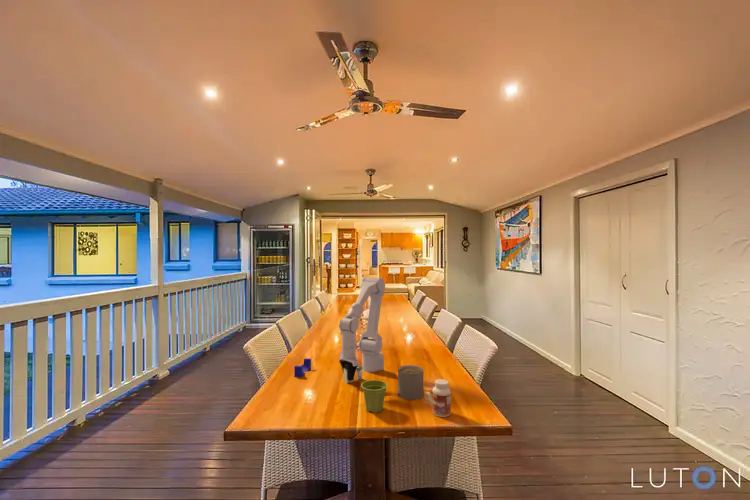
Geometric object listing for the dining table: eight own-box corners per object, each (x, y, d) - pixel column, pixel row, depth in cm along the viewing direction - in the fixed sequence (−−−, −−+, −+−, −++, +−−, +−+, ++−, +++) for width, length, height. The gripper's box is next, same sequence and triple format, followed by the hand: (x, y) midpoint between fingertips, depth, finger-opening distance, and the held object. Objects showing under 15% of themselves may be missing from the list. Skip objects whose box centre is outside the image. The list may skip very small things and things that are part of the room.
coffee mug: (415, 402, 128) (415, 375, 128) (393, 395, 134) (393, 370, 134) (431, 390, 139) (431, 365, 139) (410, 385, 145) (410, 361, 145)
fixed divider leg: (360, 378, 150) (360, 365, 150) (363, 380, 147) (363, 367, 147) (355, 379, 148) (355, 366, 148) (357, 381, 146) (357, 368, 146)
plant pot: (367, 417, 117) (367, 391, 117) (357, 405, 125) (357, 382, 125) (391, 412, 120) (391, 387, 120) (380, 401, 129) (380, 378, 129)
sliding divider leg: (350, 379, 148) (350, 366, 148) (353, 382, 145) (353, 368, 145) (343, 380, 146) (343, 367, 146) (346, 383, 143) (346, 369, 143)
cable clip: (302, 370, 163) (302, 358, 163) (311, 371, 162) (311, 358, 162) (291, 380, 151) (291, 366, 151) (300, 380, 150) (300, 367, 150)
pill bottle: (429, 414, 119) (429, 381, 119) (438, 407, 124) (438, 376, 124) (445, 419, 115) (445, 386, 115) (453, 413, 120) (453, 381, 120)
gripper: (333, 343, 150) (333, 374, 150) (346, 351, 137) (346, 386, 137) (348, 341, 153) (348, 371, 153) (362, 349, 140) (362, 382, 140)
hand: (348, 378), depth 145 cm, fingers open, 4 cm apart
